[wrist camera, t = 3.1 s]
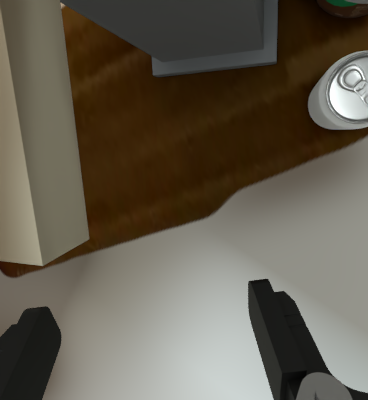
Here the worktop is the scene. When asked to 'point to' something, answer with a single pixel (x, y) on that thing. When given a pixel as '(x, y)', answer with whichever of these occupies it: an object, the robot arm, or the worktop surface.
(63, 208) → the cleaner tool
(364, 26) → the worktop surface
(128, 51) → the worktop surface
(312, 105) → the can
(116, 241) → the worktop surface
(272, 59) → the stand
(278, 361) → the robot arm
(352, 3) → the food container
